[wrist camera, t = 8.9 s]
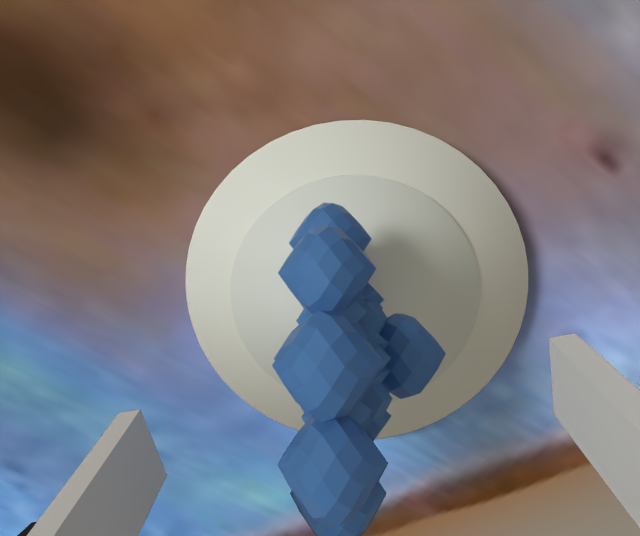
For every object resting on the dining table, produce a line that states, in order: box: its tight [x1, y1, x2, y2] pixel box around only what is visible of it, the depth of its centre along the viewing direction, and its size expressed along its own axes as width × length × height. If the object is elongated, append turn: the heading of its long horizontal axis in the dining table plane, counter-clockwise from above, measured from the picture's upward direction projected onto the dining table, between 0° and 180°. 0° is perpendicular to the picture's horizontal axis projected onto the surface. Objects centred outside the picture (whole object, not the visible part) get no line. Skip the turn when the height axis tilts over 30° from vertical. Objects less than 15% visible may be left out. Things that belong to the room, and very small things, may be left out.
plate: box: [186, 120, 528, 439], centre depth 24 cm, size 18×18×2 cm
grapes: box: [272, 203, 446, 536], centre depth 17 cm, size 12×7×12 cm, turn 4°
